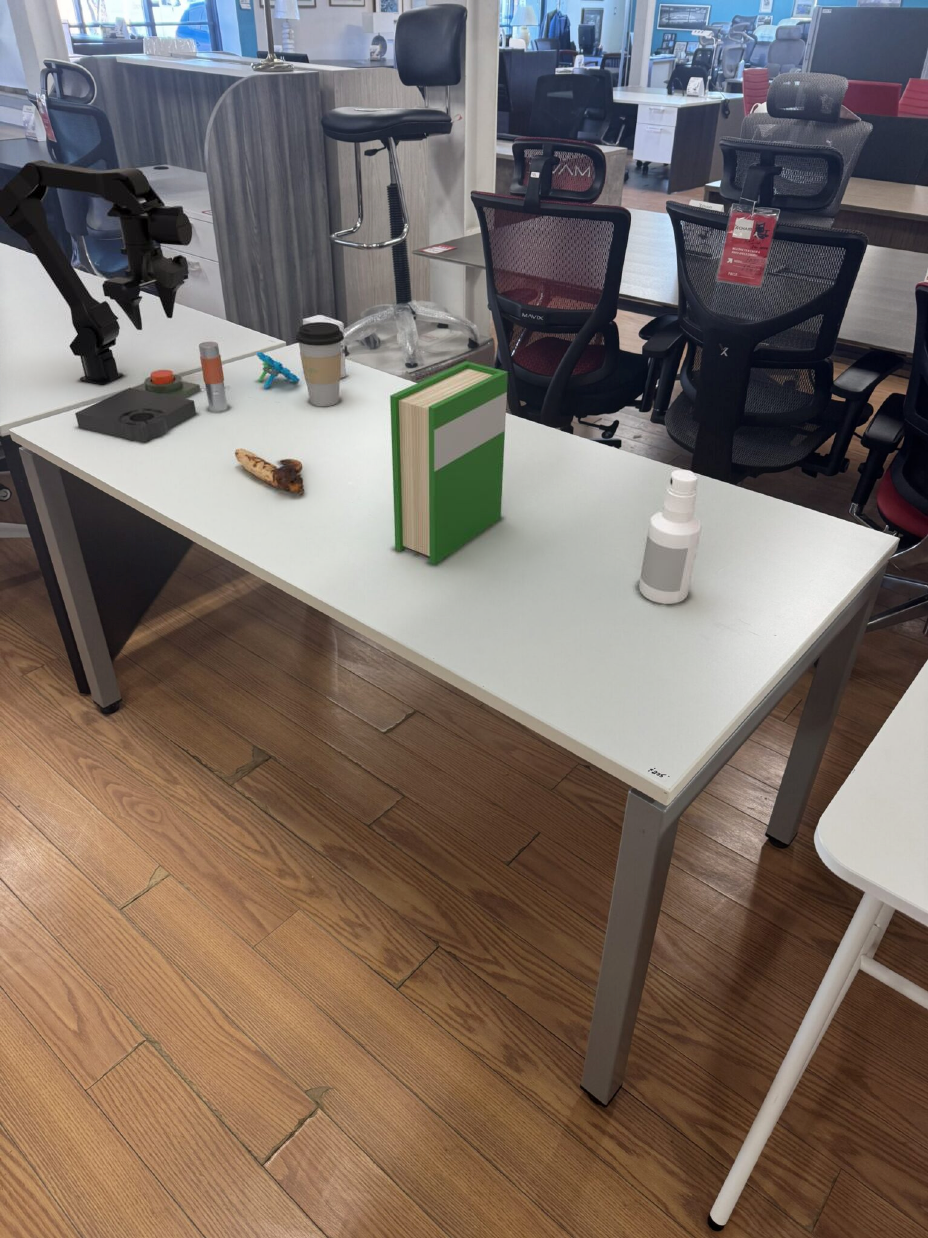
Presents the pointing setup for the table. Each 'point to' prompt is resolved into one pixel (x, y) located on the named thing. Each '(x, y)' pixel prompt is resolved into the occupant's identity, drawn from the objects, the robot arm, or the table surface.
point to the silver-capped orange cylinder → (213, 376)
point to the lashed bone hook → (273, 471)
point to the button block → (170, 387)
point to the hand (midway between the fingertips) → (155, 323)
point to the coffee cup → (321, 361)
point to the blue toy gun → (274, 370)
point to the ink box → (341, 326)
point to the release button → (162, 376)
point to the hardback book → (448, 458)
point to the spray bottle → (672, 543)
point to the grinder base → (136, 414)
